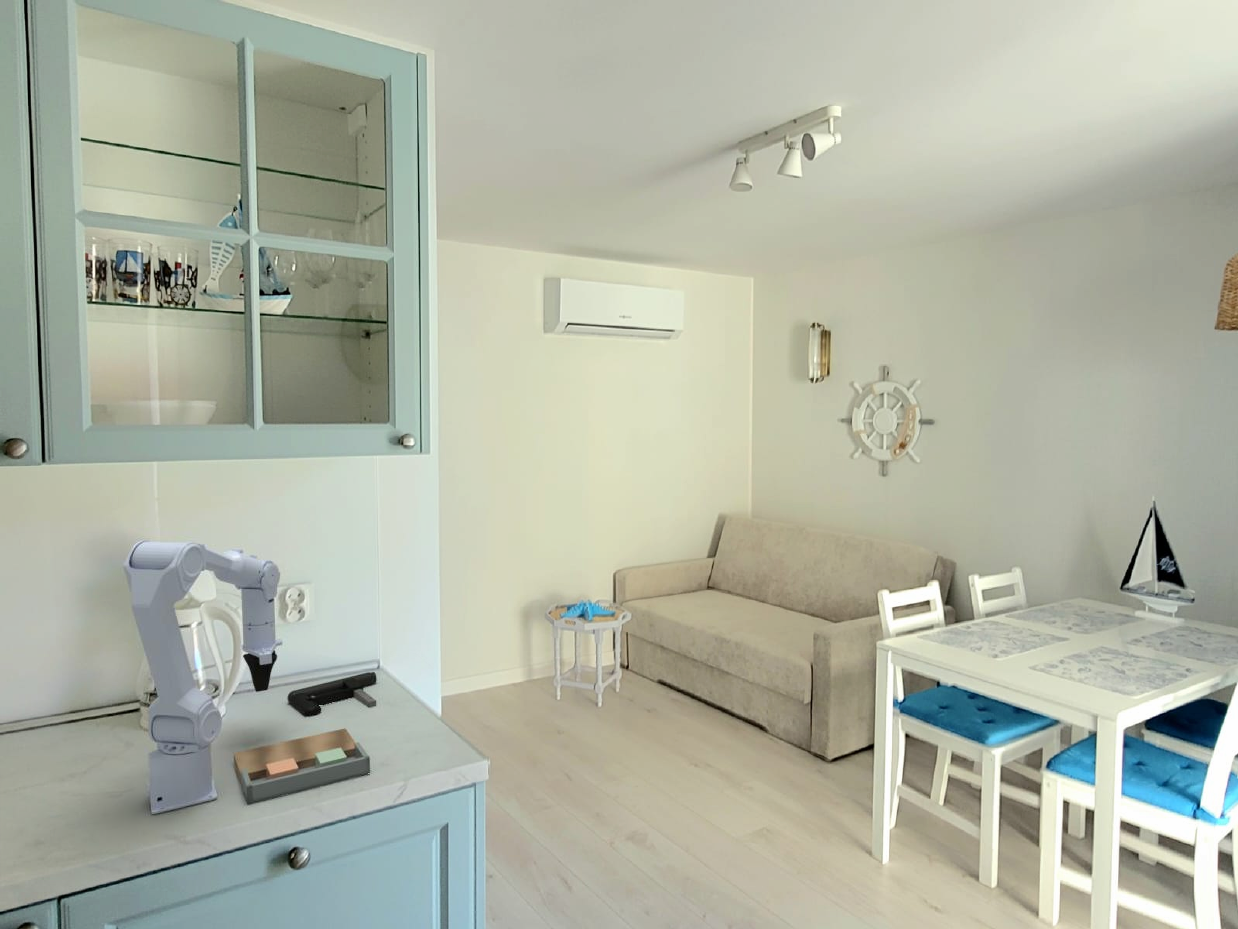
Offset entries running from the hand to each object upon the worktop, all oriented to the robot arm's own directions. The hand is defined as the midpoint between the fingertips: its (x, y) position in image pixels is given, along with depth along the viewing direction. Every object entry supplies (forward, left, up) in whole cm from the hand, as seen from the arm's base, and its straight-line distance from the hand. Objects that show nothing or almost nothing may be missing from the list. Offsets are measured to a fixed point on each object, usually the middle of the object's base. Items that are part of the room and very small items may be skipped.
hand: (261, 690), depth 152 cm
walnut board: (+4, -12, -10) cm, 16 cm away
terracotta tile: (0, -20, -10) cm, 22 cm away
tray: (+4, -21, -10) cm, 24 cm away
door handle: (+18, +13, -11) cm, 25 cm away
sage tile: (+8, -20, -10) cm, 24 cm away
